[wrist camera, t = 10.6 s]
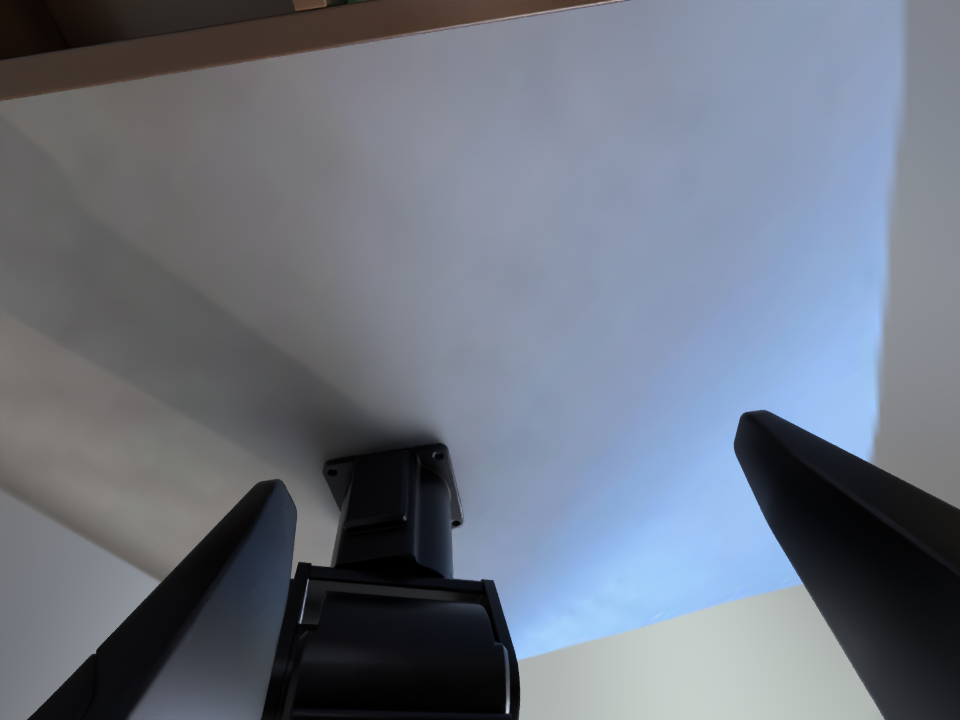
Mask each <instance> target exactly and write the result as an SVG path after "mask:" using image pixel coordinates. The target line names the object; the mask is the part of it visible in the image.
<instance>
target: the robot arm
mask: <svg viewBox="0 0 960 720" xmlns="http://www.w3.org/2000/svg"><path fill="white" fill-rule="evenodd" d="M734 451H735V454H736V457H737V459H738V461H739V463H740V465H741V467H742V470H743V472H744V474H745V476H746V478H747V480H748V483H749V485H750V487H751V489H752V491H753V493H754V496H755V498H756V500H757V502H758V504H759V506H760V509H761V511H762V513H763V515H764V517H765V519H766V521H767V523H768V525H769V527H770V529H771V530H772V532H773V534H774V536H775V537H776V539H777V541H778V542H779V544H780V546H781V547H782V549H783V551H784V552H785V554H786V556H787V557H788V559H789V561H790V562H791V564H792V566H793V567H794V569H795V571H796V572H797V574H798V576H799V577H800V579H801V581H802V582H803V584H804V586H805V587H806V589H807V591H808V592H809V594H810V596H811V597H812V599H813V601H814V602H815V604H816V606H817V607H818V609H819V611H820V612H821V614H822V616H823V617H824V619H825V621H826V622H827V624H828V626H829V627H830V629H831V631H832V632H833V634H834V636H835V637H836V639H837V641H838V642H839V644H840V646H841V647H842V649H843V651H844V652H845V654H846V656H847V657H848V659H849V661H850V663H851V664H852V666H853V668H854V669H855V671H856V673H857V674H858V676H859V678H860V679H861V681H862V682H863V684H864V686H865V687H866V689H867V691H868V692H869V694H870V696H871V698H872V699H873V701H874V702H875V704H876V706H877V708H878V709H879V711H880V713H881V714H882V716H883V717H884V719H885V720H960V509H958V508H956V507H954V506H952V505H950V504H948V503H946V502H944V501H942V500H941V499H939V498H936V497H935V496H933V495H931V494H929V493H927V492H925V491H923V490H921V489H919V488H917V487H915V486H913V485H911V484H909V483H907V482H905V481H904V480H901V479H900V478H898V477H896V476H894V475H892V474H890V473H888V472H886V471H884V470H882V469H880V468H878V467H876V466H874V465H872V464H870V463H868V462H867V461H865V460H863V459H861V458H859V457H857V456H855V455H853V454H851V453H849V452H847V451H845V450H843V449H841V448H839V447H837V446H835V445H833V444H831V443H829V442H828V441H826V440H824V439H822V438H820V437H818V436H816V435H814V434H812V433H810V432H808V431H806V430H804V429H802V428H800V427H798V426H796V425H794V424H792V423H790V422H789V421H787V420H785V419H783V418H781V417H779V416H777V415H775V414H773V413H771V412H769V411H766V410H758V411H751V412H745V413H743V414H742V416H741V417H740V420H739V424H738V428H737V432H736V436H735V440H734ZM437 452H440V453H441V454H436V453H437ZM332 469H335V470H332ZM323 475H324V477H325V479H326V481H327V484H328V486H329V488H330V490H331V492H332V494H333V497H334V499H335V501H336V503H337V505H338V507H339V510H340V512H341V514H340V519H339V524H338V529H337V535H336V540H335V545H334V550H333V556H332V561H331V566H330V567H323V566H313V565H311V564H312V563H305V562H299V563H298V566H297V570H296V573H295V577H294V579H290V578H291V568H292V559H293V550H294V540H295V531H296V521H297V510H296V506H295V504H294V502H293V500H292V498H291V496H290V494H289V492H288V490H287V488H286V486H285V484H284V483H283V482H282V481H281V480H280V479H274V480H267V481H261V482H259V483H257V484H256V485H255V486H254V487H253V488H252V489H251V490H250V491H249V492H248V493H247V494H246V495H245V496H244V497H243V498H242V499H241V500H240V501H239V502H238V503H237V504H236V505H235V506H234V507H233V509H232V510H231V511H230V512H229V513H228V514H227V515H226V516H225V517H224V518H223V519H222V520H221V521H220V522H219V523H218V524H217V525H216V526H215V527H214V528H213V529H212V530H211V531H210V532H209V533H208V534H207V536H206V537H205V538H204V539H203V540H202V541H201V542H200V543H199V544H198V545H197V546H196V547H195V548H194V549H193V550H192V551H191V552H190V553H189V554H188V555H187V556H186V557H185V558H184V559H183V560H182V561H181V562H180V564H179V565H178V566H177V567H176V568H175V569H174V570H173V571H172V572H171V573H170V574H169V575H168V576H167V577H166V578H165V579H164V580H163V581H162V582H161V583H160V584H159V585H158V586H157V587H156V589H155V590H154V591H153V592H152V593H151V594H150V595H149V596H148V597H147V598H146V599H145V600H144V601H143V602H142V603H141V604H140V605H139V606H138V607H137V608H136V609H135V610H134V611H133V612H132V613H131V614H130V616H128V617H127V619H126V620H125V621H124V622H123V623H122V624H121V625H120V626H119V627H118V628H117V629H116V630H115V631H114V632H113V633H112V634H111V635H110V636H109V637H108V638H107V639H106V640H105V641H104V642H103V643H102V644H101V646H100V647H99V648H98V649H97V650H96V654H92V655H91V656H90V657H89V658H88V659H87V660H86V661H85V662H84V663H83V664H82V665H81V666H80V667H79V668H78V669H77V670H76V671H75V672H74V673H73V674H72V675H71V676H70V677H69V678H68V680H67V681H65V683H63V685H62V686H61V687H60V688H59V689H58V690H57V691H56V692H55V693H54V694H53V695H52V696H51V697H50V698H49V699H48V700H47V701H46V702H45V703H44V704H43V705H42V706H41V707H40V708H39V709H38V710H37V711H36V712H35V713H34V714H33V715H32V716H30V718H29V719H27V720H519V709H520V680H519V670H518V663H517V658H516V654H515V650H514V647H513V644H512V640H511V637H510V634H509V630H508V627H507V624H506V620H505V617H504V613H503V610H502V607H501V603H500V600H499V597H498V593H497V590H496V587H495V583H494V581H493V580H485V579H482V580H481V581H474V580H463V579H453V556H452V530H451V529H456V528H460V527H462V526H463V525H464V514H463V510H462V506H461V502H460V497H459V493H458V489H457V485H456V480H455V476H454V472H453V468H452V464H451V459H450V455H449V451H448V448H447V446H445V445H444V444H441V443H437V444H430V445H424V446H417V447H411V448H405V449H398V450H392V451H385V452H379V453H372V454H366V455H359V456H353V457H347V458H340V459H334V460H329V461H327V462H326V463H325V464H324V468H323Z"/></svg>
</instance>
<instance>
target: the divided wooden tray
mask: <svg viewBox="0 0 960 720" xmlns="http://www.w3.org/2000/svg"><path fill="white" fill-rule="evenodd" d="M623 1H629V0H0V101H2V100H9V99H15V98H22V97H28V96H34V95H41V94H47V93H54V92H60V91H67V90H73V89H79V88H86V87H92V86H98V85H104V84H111V83H117V82H123V81H129V80H136V79H142V78H148V77H154V76H161V75H167V74H173V73H179V72H186V71H192V70H198V69H204V68H211V67H217V66H223V65H229V64H236V63H242V62H248V61H254V60H261V59H267V58H273V57H279V56H286V55H292V54H298V53H304V52H311V51H317V50H323V49H329V48H336V47H342V46H348V45H354V44H361V43H367V42H373V41H379V40H386V39H392V38H398V37H404V36H411V35H417V34H423V33H429V32H436V31H442V30H448V29H454V28H461V27H467V26H473V25H479V24H486V23H492V22H498V21H504V20H511V19H517V18H523V17H529V16H536V15H542V14H548V13H554V12H561V11H567V10H573V9H579V8H586V7H592V6H598V5H604V4H611V3H617V2H623Z"/></svg>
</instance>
